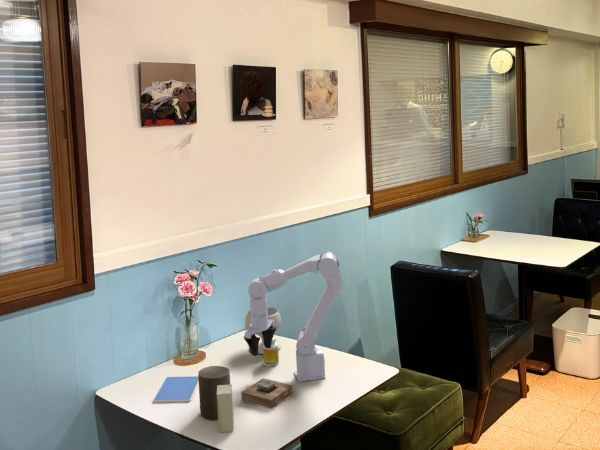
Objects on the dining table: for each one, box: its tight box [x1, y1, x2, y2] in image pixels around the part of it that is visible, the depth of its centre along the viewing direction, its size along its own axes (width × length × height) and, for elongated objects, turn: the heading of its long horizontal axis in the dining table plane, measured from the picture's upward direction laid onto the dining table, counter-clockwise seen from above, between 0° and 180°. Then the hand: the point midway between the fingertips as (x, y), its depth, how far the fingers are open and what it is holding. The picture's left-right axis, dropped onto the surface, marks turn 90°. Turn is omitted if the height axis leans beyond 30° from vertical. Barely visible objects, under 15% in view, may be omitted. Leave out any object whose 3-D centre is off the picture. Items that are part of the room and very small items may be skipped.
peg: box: [258, 381, 275, 393], centre depth 213 cm, size 4×4×5 cm
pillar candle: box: [197, 365, 231, 421], centre depth 202 cm, size 10×10×15 cm
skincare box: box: [217, 383, 235, 433], centre depth 193 cm, size 6×4×12 cm
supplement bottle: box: [263, 336, 280, 367], centre depth 239 cm, size 5×5×10 cm
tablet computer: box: [152, 375, 199, 404], centre depth 221 cm, size 19×13×1 cm, turn 178°
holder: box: [240, 377, 294, 410], centre depth 212 cm, size 12×12×3 cm
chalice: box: [244, 306, 282, 355], centre depth 253 cm, size 14×14×15 cm
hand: (261, 351), depth 227 cm, fingers open, 7 cm apart
